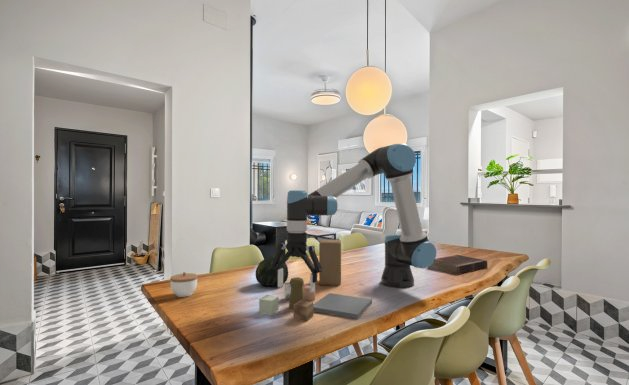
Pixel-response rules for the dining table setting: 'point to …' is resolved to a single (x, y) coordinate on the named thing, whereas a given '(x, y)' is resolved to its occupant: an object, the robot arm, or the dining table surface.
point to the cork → (296, 291)
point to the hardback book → (458, 264)
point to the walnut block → (303, 310)
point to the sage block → (268, 304)
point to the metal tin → (287, 291)
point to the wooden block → (330, 262)
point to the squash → (269, 272)
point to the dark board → (342, 305)
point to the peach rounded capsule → (308, 294)
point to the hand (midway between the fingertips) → (296, 288)
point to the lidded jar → (184, 284)
